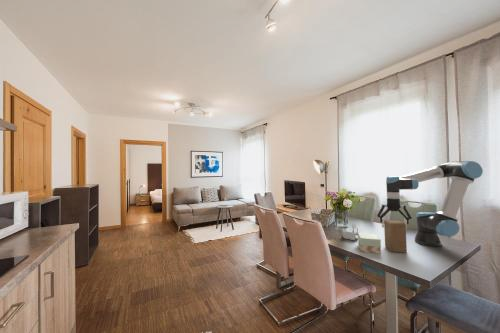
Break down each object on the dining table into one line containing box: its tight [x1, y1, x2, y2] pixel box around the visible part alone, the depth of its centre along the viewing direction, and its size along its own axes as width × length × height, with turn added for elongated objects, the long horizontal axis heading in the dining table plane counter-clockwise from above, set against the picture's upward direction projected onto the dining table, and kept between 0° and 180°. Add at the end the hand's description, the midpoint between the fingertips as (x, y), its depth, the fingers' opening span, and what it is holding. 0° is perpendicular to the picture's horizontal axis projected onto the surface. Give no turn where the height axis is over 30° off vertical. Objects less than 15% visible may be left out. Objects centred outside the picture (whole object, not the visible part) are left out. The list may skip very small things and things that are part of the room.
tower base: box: [357, 239, 382, 254], centre depth 146 cm, size 12×12×5 cm
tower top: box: [357, 232, 382, 248], centre depth 146 cm, size 12×12×5 cm
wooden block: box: [383, 219, 408, 254], centre depth 144 cm, size 10×10×20 cm
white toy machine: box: [341, 223, 359, 243], centre depth 172 cm, size 18×10×12 cm
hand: (394, 228), depth 144 cm, fingers open, 13 cm apart
